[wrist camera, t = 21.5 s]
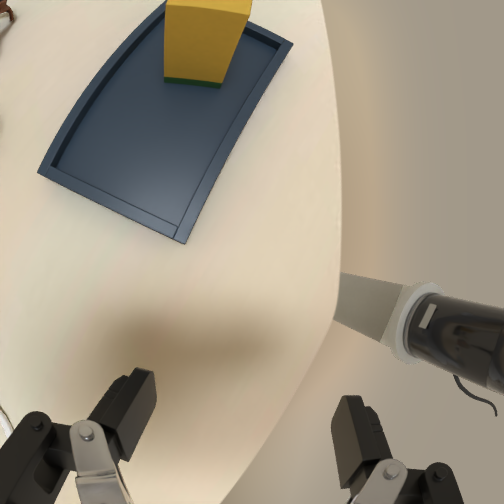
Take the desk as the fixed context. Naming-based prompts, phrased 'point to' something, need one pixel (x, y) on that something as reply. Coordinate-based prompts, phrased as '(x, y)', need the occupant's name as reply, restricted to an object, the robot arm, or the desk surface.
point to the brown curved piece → (6, 9)
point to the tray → (159, 129)
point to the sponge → (202, 39)
